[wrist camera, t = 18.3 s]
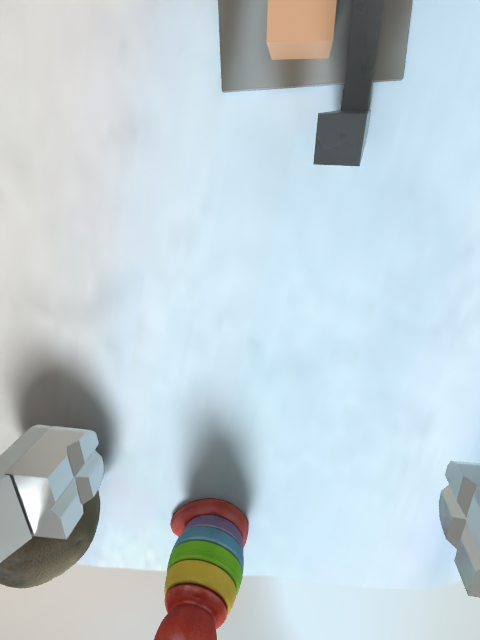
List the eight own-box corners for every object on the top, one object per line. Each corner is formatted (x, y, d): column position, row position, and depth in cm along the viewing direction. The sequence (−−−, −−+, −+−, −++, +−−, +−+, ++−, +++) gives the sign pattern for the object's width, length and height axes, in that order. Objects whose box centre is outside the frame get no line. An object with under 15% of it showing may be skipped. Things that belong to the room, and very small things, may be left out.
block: (271, 59, 29) (266, 42, 25) (274, -12, 28) (269, -43, 23) (329, 58, 29) (333, 39, 25) (335, -16, 27) (341, -48, 23)
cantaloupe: (67, 510, 56) (-9, 620, 43) (11, 440, 52) (-93, 537, 39) (140, 491, 52) (82, 607, 38) (86, 413, 48) (-1, 512, 34)
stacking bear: (167, 520, 54) (107, 674, 37) (202, 482, 49) (152, 637, 33) (227, 557, 55) (195, 723, 38) (267, 523, 50) (249, 692, 34)
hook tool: (270, 140, 33) (213, 160, 21) (278, -61, 26) (202, -189, 15) (365, 143, 31) (359, 166, 19) (399, -75, 24) (422, -240, 13)
